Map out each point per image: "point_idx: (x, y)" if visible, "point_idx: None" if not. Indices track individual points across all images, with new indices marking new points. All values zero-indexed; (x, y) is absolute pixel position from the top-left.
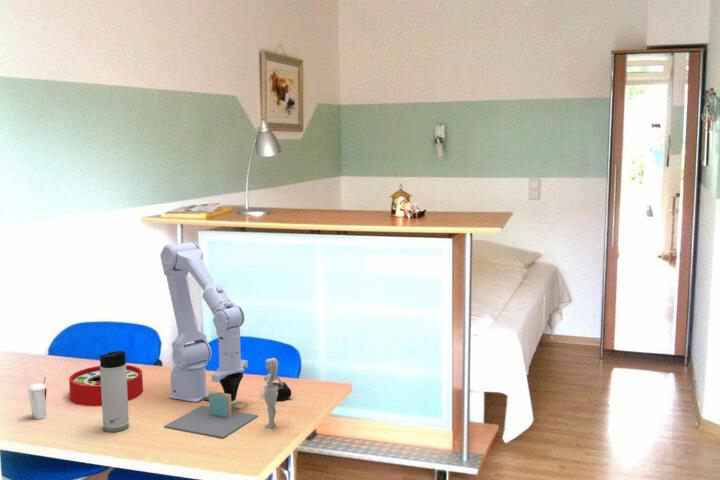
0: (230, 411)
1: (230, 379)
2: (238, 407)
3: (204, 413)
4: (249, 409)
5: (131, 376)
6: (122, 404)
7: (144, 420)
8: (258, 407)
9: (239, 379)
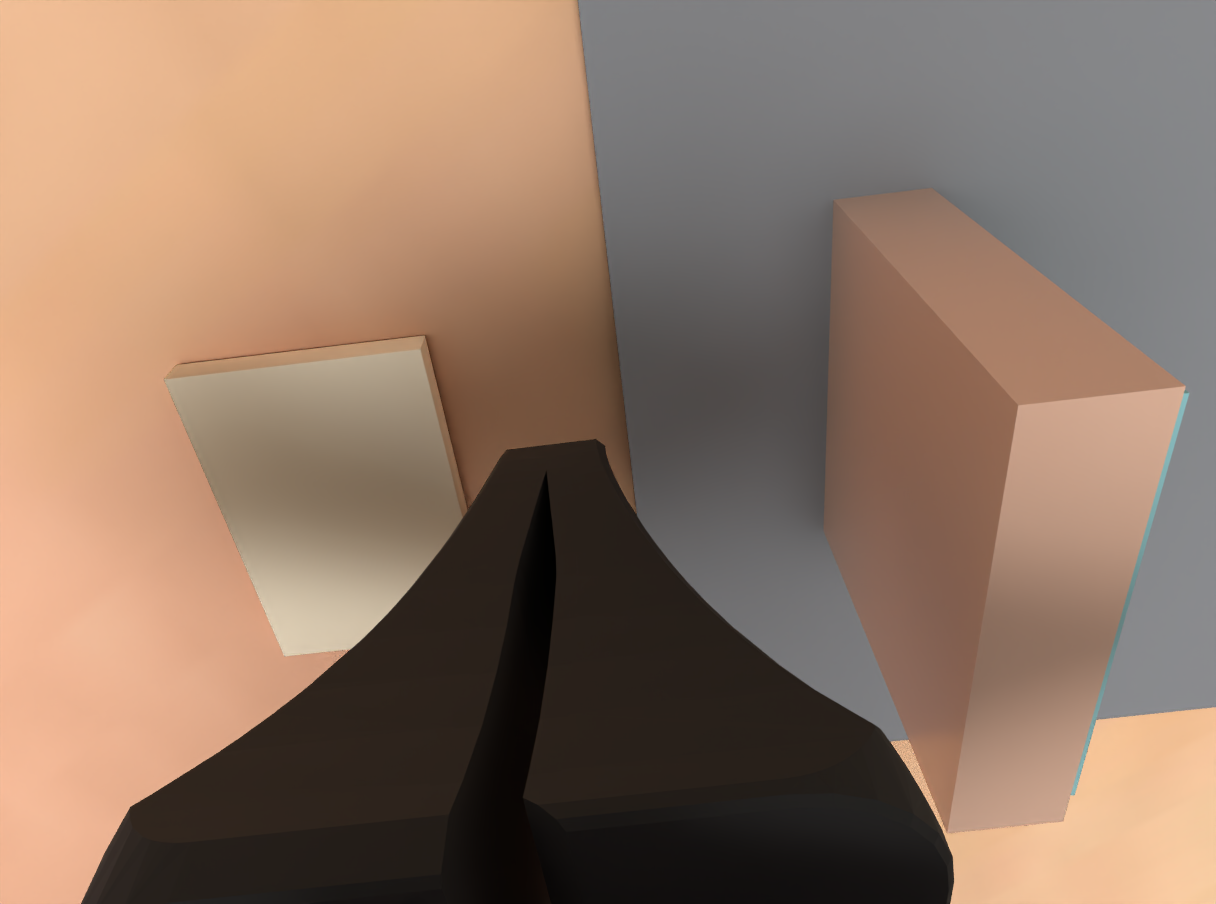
0: (900, 226)
1: (946, 885)
2: (429, 368)
3: None
4: (333, 175)
5: None
6: None
7: (1211, 884)
8: (135, 87)
9: (387, 749)
